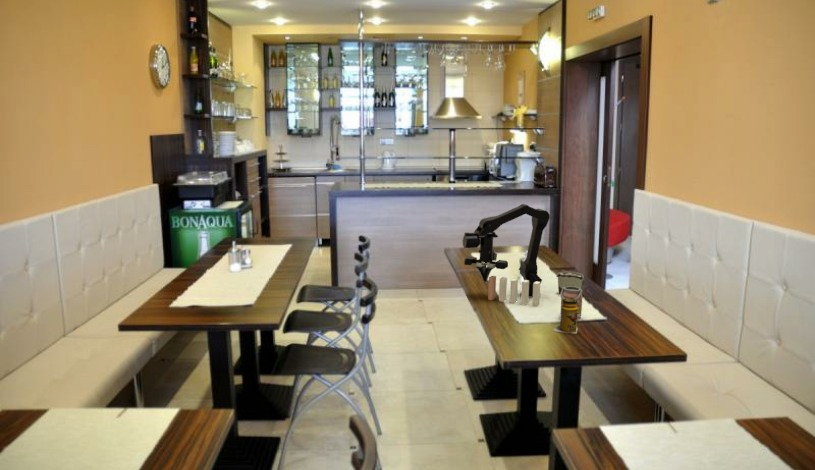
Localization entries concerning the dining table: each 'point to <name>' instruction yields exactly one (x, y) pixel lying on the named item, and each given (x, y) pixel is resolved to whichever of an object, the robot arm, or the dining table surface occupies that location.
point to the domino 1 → (492, 288)
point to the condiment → (568, 317)
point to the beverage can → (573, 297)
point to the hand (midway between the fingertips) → (485, 281)
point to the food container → (569, 280)
